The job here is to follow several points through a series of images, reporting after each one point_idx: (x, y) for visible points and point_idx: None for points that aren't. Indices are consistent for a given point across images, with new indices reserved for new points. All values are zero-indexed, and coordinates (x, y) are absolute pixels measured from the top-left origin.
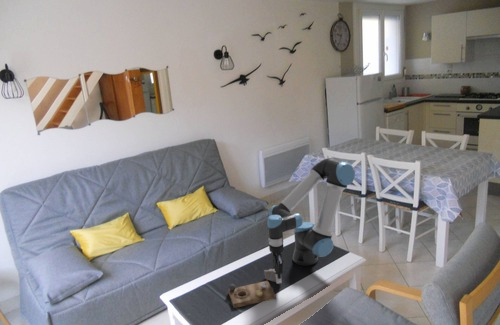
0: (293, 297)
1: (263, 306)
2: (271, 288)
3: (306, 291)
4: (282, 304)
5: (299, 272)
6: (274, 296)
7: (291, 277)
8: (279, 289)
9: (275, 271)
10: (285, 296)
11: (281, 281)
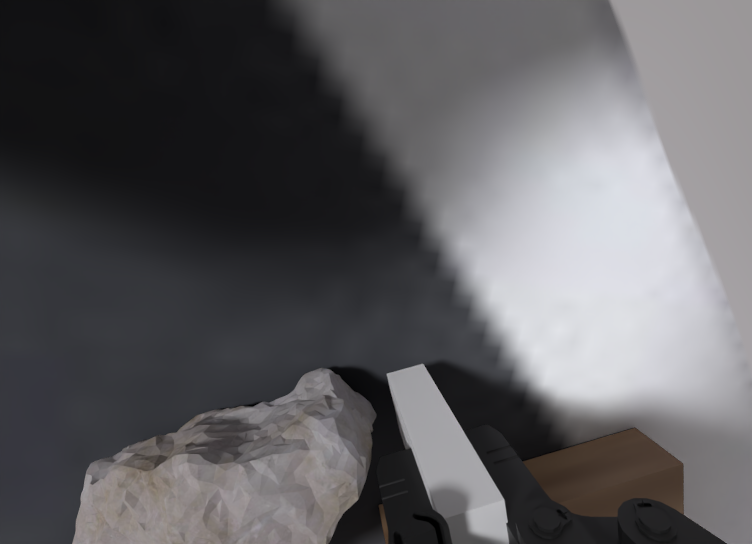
0: (678, 237)
1: (703, 525)
2: (566, 504)
3: (624, 43)
4: (738, 363)
5: (105, 26)
6: (658, 452)
7: (253, 197)
8: (498, 381)
9: (283, 531)
10: (635, 324)
11: (428, 375)
